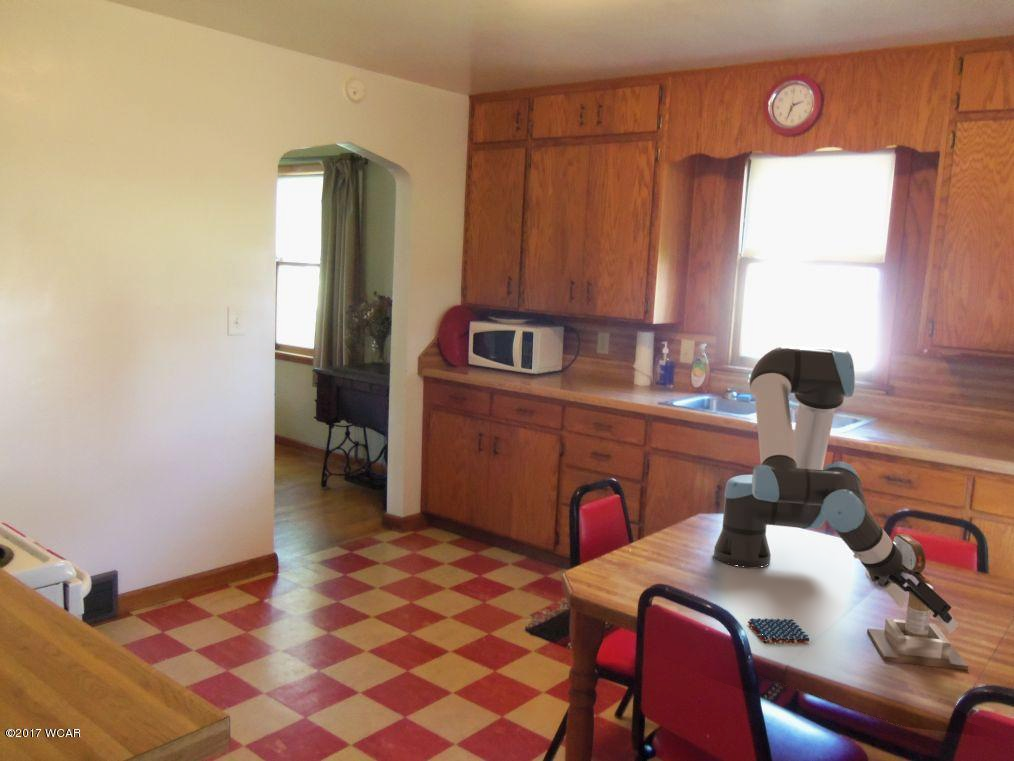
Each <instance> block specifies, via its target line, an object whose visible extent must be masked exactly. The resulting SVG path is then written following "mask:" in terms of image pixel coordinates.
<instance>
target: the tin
mask: <svg viewBox="0 0 1014 761" xmlns="http://www.w3.org/2000/svg"><path fill="white" fill-rule="evenodd" d="M892 542H895V543H896V547H897V548H898V549H899V551H900V552H901V554H902V565H903V566H904V567H905V568H906V569H907V570H908V572H909V573H913V572H915V573H919V572H920V574H922V573H923V571H924V570H925V567H926V563H927V562H926V561H927V560H926V554H925V550H924V547H923V546H922V544H921V543H920V542H919V541H918V540H916V539H915V538H914V537H912V536H910V535H909V534H907V533H896V534H894V535H893V537H892Z"/></svg>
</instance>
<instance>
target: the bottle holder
mask: <svg viewBox="0 0 1014 761" xmlns="http://www.w3.org/2000/svg"><path fill="white" fill-rule="evenodd" d="M905 624H906V619H905V620H903V619H894V618H885V623H884V629H879V628H878V629H877V628H866V629H867V631H866V633H867V635H868V637H869V638H870V639H871V642H872V643H873V645H874V647H875V648H876V650H877V651H878V653H879V655H880V657H881V658H882V661H884V662H891V663H900V664H908V665H918V666H926V667H935V668H943V669H952V670H962V671H968V669H969V665H968V664H967V663H966V661H965V660H964V659H963V657H962V656H961V655H960V653H958V651H957V650H956V649H955V648H954V646H953V644H951V643H952V642H950V641H949V640H948V638H947V637H946V635H945V634H944V633H943V632H942V631H941V629H940V628H939V627H938V626H937V624H936V623H933V622H929V628H928V634H927V638H923V637H914V636H905Z"/></svg>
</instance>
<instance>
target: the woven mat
mask: <svg viewBox="0 0 1014 761" xmlns="http://www.w3.org/2000/svg"><path fill="white" fill-rule="evenodd" d="M747 624H748V625H749V627H750V628H751V627H752V628H751V629H752V630H753V631H754V633H755V632H756V633H757V634H758V635H757V634H756V633H755V634H756V635H757V637H758V638H759V637H760V638H759V639H760V640H761V641H762V640H763V641H765V642H766V643H768V642H769V644H773V643H774V642H775V643H776V644H775V643H774V644H775V645H777V644H778V642H779V644H780V643H781V644H787V643H789V644H796V645H797V644H799V643H800V644H799V645H802V643H801V642H803V644H805V645H807V644H808V643H809V642H810V637H809V635H808V634H807V633H806V631H803V628H799V627H800V625H798V624H797V622H795V621H794V619H792V618H790V619H789V618H788V619H786V618H784V619H780V618H766V617H765V618H759V617H758V618H750V619H749V621H747ZM762 634H763V635H762ZM763 641H762V642H763ZM783 642H784V643H783Z"/></svg>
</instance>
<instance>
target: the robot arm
mask: <svg viewBox="0 0 1014 761" xmlns="http://www.w3.org/2000/svg"><path fill="white" fill-rule="evenodd" d="M855 378H856V377H855V367H854V361H853V356H852V354H851V353H850V352H849V351H848V350H847V349H841V348H833V347H830V348H828V347H807V346H794V345H793V346H792V345H784V346H779V347H776V348H774V349H772V350H770V351H768V352H767V353H765V354H764V355H763V356H762V357H761V358H760V359H758V361H757V362H756V364H755V366H754V367H753V369H752V372H751V374H750V378H749V391H750V395H751V396H752V398H753V399H754V400H755V401H754V402H755V410H756V411H755V412H756V424H757V433H758V434H757V435H758V446H759V457H760V464H759V465H758V464H757V465H756V466H754V467H753V470H752V474H741V475H736V476H733V477H731V478H729V479H728V480H727V481H726V484H725V491H724V495H723V496H724V503H723V504H724V505H723V518H722V529H721V531H720V534H719V536H718V538H717V541H716V543H715V545H714V548H713V557H714V556H715V557H716V558H717V559H719V560H720V561H719V560H718V561H719V562H721V561H723V562H725V563H724V564H726V563H729V564H732V565H731V566H733V565H738V566H744V567H743V568H747V567H758V568H762V567H761V566H764V567H766V566H765V565H767V564H769V563H771V551H770V547H769V543H768V539H767V535H766V534H767V526H775V527H777V526H779V527H786V528H787V527H788V528H800V529H804V530H805V529H806V530H807V529H819V528H821V527H822V526H823V525H824V523H827V524H828V525H829V526H830V528H832V529H833V530H834V531H835V532H836V534H837V535H838V536H839V537H840V538H841V540H842V541H843V542H844V543H845V544H846V545H847V547H848V548H849V550H850V551H852V553H853V556H852V557H854V559H858V560H859V562H860V563H861V564H862V565H863V566H864V568H865V570H866V569H867V570H868V572H869V575H870V577H871V579H870V580H871V581H872V582H874V583H876V582H877V583H878V585H879V586H880V587H882V588H883V589H884V590H885V592H886V593H887V594H888V595H889V597H890V598H891V600H893V601H894V603H895V604H896V606H898V607H899V608H901V609H902V608H903V607H904V605H906V604H907V603H908V600H909V596H907V594H906V593H905V592H908V593H909V592H910V593H911V594H912V595H913V596H914V597H916V598H917V599H918V600H919V601H920V602H922V603H923V604H924V605H925V606H926V607H928V608H929V609H930V612H931V614H932V617H933V618H934V619H935V620H937V622H938V623H939V624H940V625H941V627H942V628H943V629H944V630H945V632H946V633H947V634H949V635H951V634H952V633H953V632H954V631H955V629H956V628H957V627H958V626H959V625H960V624H959V623H958V622H957V620H956V619H955V618H954V617H953V615H952V614H951V613H950V612H949V611H950V610H951V609H952V606H951V605H950V604H948V603H947V601H945V599H944V598H942V596H940V595H939V594H938V593H937V592H935V590H934V589H933V590H932V589H931V588H930V587H929V586H928V585H927V584H928V583H926V582H925V581H924V580H923V579H922V577H920V576H919V574H918V572H910V571H908V570H907V569H906V568H905V567H904V566H903V565H902V554H901V552H900V551H899V549H898V548H897V547H896V546H895V544H894V543H893V540H892V539H891V537H890V536H889V535H888V534H887V532H886V531H885V530H884V529H883V527H882V526H881V525H880V524H879V523H878V521H876V519H875V518H874V516H873V515H872V514H871V512H870V510H869V506H868V504H867V500H866V498H865V494H864V490H863V486H862V481H861V478H860V477H859V474H858V472H857V470H856V469H855V467H853V465H851V464H849V463H847V462H844V461H836V462H832V463H828V464H827V465H825V460H826V455H827V451H828V445H829V440H830V436H831V430H832V425H833V420H834V415H835V411H836V409H838V408H840V407H841V406H842V405H843V404H844V399H845V398H849V397H852V396H853V395H854V393H855V382H856V381H855V380H856V379H855ZM790 394H794V398H795V400H796V401H797V402H798V409H797V415H796V421H795V426H794V427H795V428H794V430H793V424H792V416H791V409H790V400H789V399H790V398H789V396H790ZM824 465H825V466H824ZM715 557H714V558H715ZM716 558H715V559H716ZM717 559H716V560H717ZM723 562H722V563H723ZM729 564H728V565H729ZM769 565H770V564H769ZM738 566H737V567H738ZM767 566H768V565H767ZM905 585H906V586H905Z"/></svg>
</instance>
